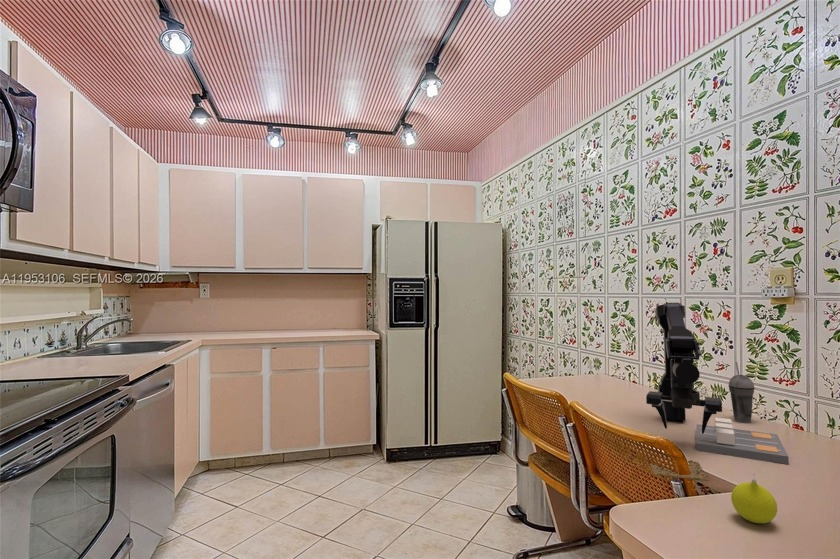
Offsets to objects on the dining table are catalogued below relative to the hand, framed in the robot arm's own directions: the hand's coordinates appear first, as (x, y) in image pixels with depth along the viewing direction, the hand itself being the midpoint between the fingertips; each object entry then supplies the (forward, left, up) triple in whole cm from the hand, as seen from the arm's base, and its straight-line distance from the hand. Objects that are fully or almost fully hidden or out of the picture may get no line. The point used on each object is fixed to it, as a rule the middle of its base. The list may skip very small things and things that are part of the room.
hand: (684, 430), depth 126 cm
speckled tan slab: (-1, -21, -4) cm, 21 cm away
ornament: (+13, -42, -4) cm, 44 cm away
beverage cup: (+16, +35, -4) cm, 39 cm away
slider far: (+10, +12, -2) cm, 16 cm away
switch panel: (+13, +6, -4) cm, 15 cm away
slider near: (+10, 0, -2) cm, 10 cm away
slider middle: (+10, +6, -2) cm, 12 cm away
